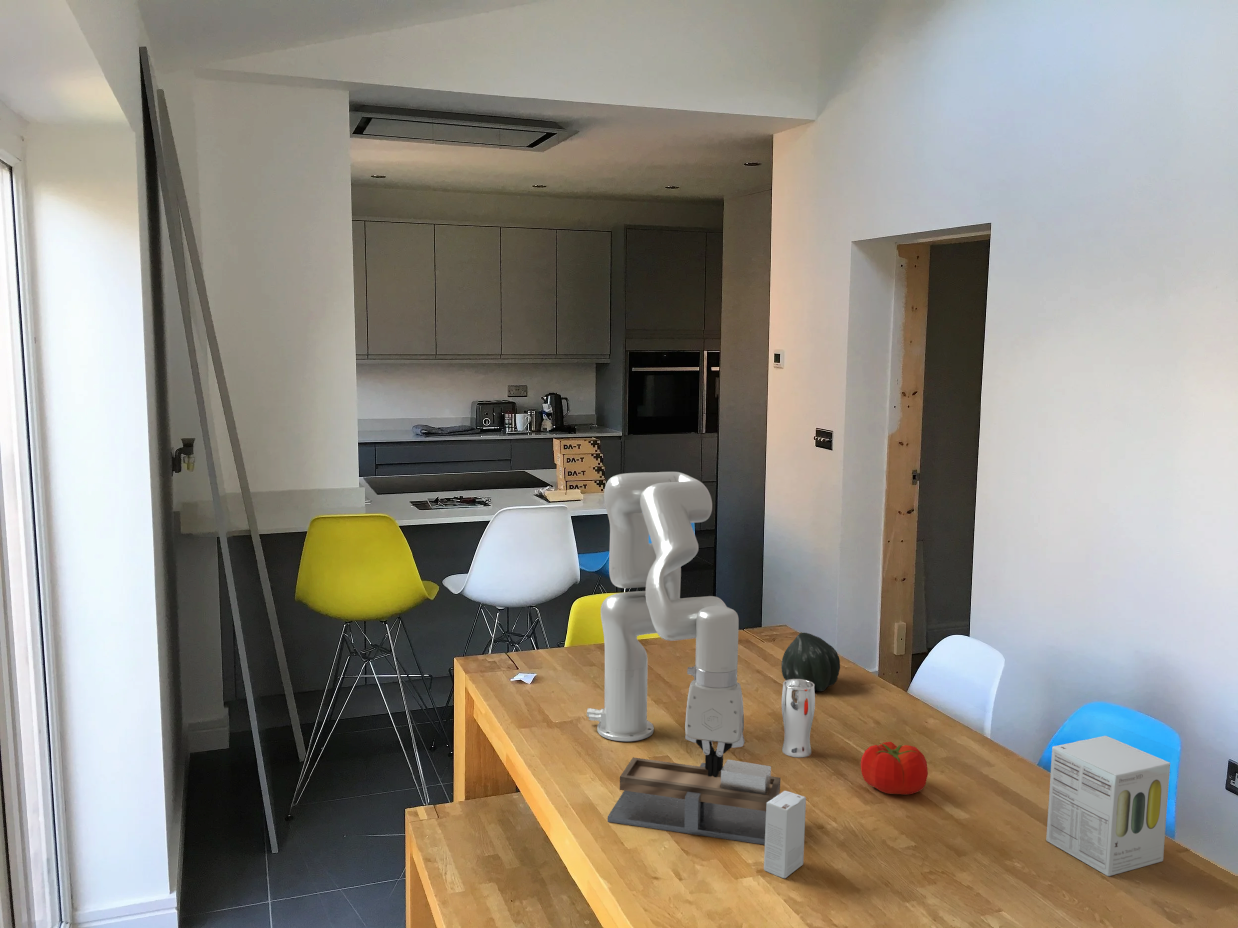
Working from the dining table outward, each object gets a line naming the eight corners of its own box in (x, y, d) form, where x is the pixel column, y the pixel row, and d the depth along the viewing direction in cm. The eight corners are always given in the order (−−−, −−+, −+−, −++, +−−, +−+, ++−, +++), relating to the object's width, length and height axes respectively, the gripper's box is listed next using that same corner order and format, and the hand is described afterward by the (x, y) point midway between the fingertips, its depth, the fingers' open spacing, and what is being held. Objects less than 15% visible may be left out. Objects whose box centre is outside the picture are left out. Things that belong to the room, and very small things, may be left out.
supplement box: (1108, 878, 160) (1115, 775, 158) (1044, 841, 172) (1050, 745, 170) (1165, 861, 165) (1173, 762, 163) (1099, 827, 177) (1105, 733, 175)
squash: (858, 664, 251) (822, 616, 255) (838, 683, 238) (800, 632, 242) (818, 692, 258) (783, 645, 262) (796, 711, 245) (760, 661, 249)
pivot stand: (606, 822, 177) (607, 785, 176) (629, 787, 191) (629, 753, 190) (779, 848, 168) (780, 809, 167) (789, 809, 182) (790, 773, 182)
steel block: (720, 791, 175) (721, 770, 175) (727, 780, 180) (727, 759, 179) (764, 799, 173) (765, 777, 172) (770, 787, 177) (771, 766, 177)
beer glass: (813, 759, 205) (815, 690, 203) (779, 756, 206) (781, 687, 205) (813, 746, 212) (815, 679, 210) (780, 744, 213) (782, 677, 212)
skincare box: (781, 856, 165) (783, 788, 164) (805, 865, 163) (807, 796, 161) (762, 871, 161) (764, 800, 159) (786, 880, 158) (788, 809, 156)
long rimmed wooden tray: (619, 789, 179) (619, 776, 178) (632, 769, 187) (632, 757, 187) (773, 812, 171) (774, 798, 171) (780, 790, 180) (780, 777, 179)
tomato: (928, 779, 196) (929, 738, 195) (926, 806, 184) (928, 763, 183) (863, 770, 200) (864, 730, 199) (857, 796, 188) (858, 753, 187)
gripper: (670, 678, 174) (669, 776, 177) (754, 687, 170) (751, 788, 172) (680, 665, 182) (678, 760, 184) (760, 673, 177) (758, 770, 179)
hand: (713, 773), depth 178 cm, fingers closed
